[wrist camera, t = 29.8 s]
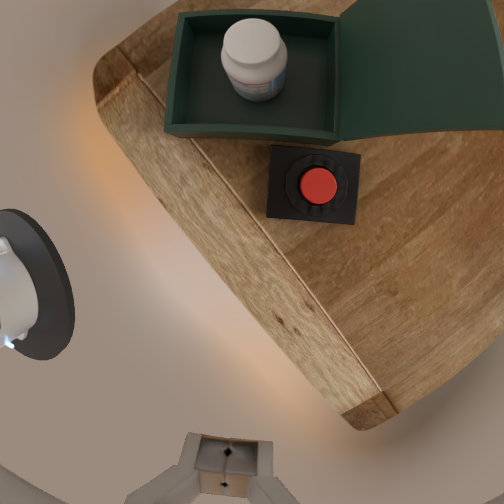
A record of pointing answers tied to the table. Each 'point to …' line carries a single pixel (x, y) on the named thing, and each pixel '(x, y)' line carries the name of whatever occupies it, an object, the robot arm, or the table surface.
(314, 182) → the button
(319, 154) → the control block
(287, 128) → the box
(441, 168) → the table surface
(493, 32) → the box lid
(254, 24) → the pill bottle
